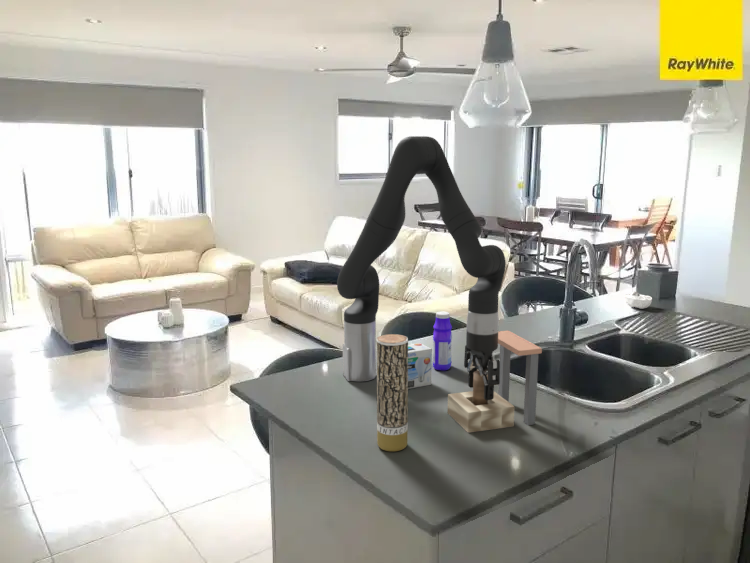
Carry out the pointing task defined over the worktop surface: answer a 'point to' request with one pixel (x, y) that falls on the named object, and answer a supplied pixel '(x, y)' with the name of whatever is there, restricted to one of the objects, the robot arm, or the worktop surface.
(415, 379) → the light bulb box
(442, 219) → the robot arm
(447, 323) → the bottle
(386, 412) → the paper tube
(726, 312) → the worktop surface
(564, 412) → the worktop surface
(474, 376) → the peg
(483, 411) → the socket
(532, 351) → the wooden top bench
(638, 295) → the cell model
